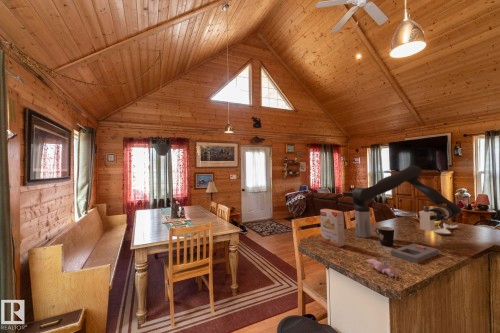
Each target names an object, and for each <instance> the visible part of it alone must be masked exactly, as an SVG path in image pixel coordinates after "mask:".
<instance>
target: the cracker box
mask: <svg viewBox="0 0 500 333" xmlns="http://www.w3.org/2000/svg"><path fill="white" fill-rule="evenodd" d="M319 211H320V212H319V213H320V215H319V216H320V236H321V242H323V243H326V244H328V245H332V246H334V247H337V248H340V247H344V246H345V245H346V240H345V219H344V211H340V210H336V209H330V208H321V209H320V210H319Z"/></svg>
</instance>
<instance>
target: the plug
mask: <svg viewBox="0 0 500 333" xmlns="http://www.w3.org/2000/svg"><path fill="white" fill-rule="evenodd" d="M429 210H430V206H429V205H423V210H420V211H418V212H419V215H420V219H419V230H422V231H427V232H433V231H435V230H436V226H435V225H436V223H435V222H436V221H434V220H430V216H434V212H431V211H429Z"/></svg>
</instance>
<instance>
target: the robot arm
mask: <svg viewBox="0 0 500 333" xmlns="http://www.w3.org/2000/svg"><path fill="white" fill-rule="evenodd" d="M422 173H423V170H422V168H421V167H419V166H417V165H410V166H408V167H406V168H404V169H402V170H400V171H399V172H398V171H397V172H396V173H393V174H391V175H388V176H385V177H384V178H381V179H379V180H378V181H377V182H376V184H373V185H371V186H368V187H356V188H354V189H353V191H352V203H353V207H354V218H355V219H354V220H355V223H354V224H355V236H356V237H358V238H365V239H367V238H368V239H369V238H371V237H372V228H371V210H370V206H368V205H367V203H366V202H369V201H371V200H372V199H374V198H376V197H378V196H379V195H382V194H384V193H387V192H390V191H393V190H394V189H396V188H398V187H399V186H401V185H402V184H403V183H404V182H407V183H408V184H410V186H412V187H414V188H415V189H417V190H418V191H419V192H421V193H422V194H424V195H425V197H427V198H428V199H429V200H430V202H431V203H433V204H434V205H435V206H437V207H434V208H429V211H431V212H434V216H430V220H434V221H435V222H440V221H447V220H450V219H452V218H454V217H455V216H458V215H459V214H460V213H461V212H462V208H461V206H459V205H458V204H457V203H454V202H453V201H451V200H449V199H448V198H446V197H445V196H444V195H442V193H440V191H438V189H436V188H433V187H431V186H428V185H426V184H424V183H422V182H421V181H420V179H419V178H420V177H421V175H422ZM443 204H445V206H441V205H443ZM438 206H439V207H438ZM416 213H417V219H419V220H420V215H419V211H418V212H416Z"/></svg>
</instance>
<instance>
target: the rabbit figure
mask: <svg viewBox="0 0 500 333" xmlns="http://www.w3.org/2000/svg"><path fill="white" fill-rule="evenodd" d="M366 262H368V263H370V264H371V265H372V266H373V267H374V268H375V270H377V271H378V272H381V273H382V274H387V275H388V277H390V278H391V277H392V278H391V279H393V278H394V277H395V278H394V280H397V278H399V279H401V278H402V276H401V274H399V272H396V271H395V270H394V269H393V268H391V267H390V266H389V264H388V261H387V260H384V261H383V262H381V261H378V260H377V259H373V258H371V259H366ZM398 276H399V277H398Z"/></svg>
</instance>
